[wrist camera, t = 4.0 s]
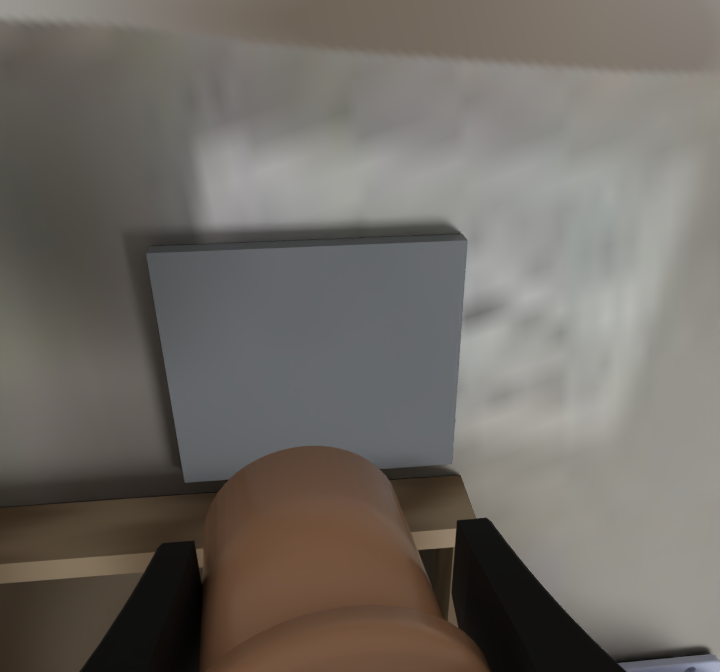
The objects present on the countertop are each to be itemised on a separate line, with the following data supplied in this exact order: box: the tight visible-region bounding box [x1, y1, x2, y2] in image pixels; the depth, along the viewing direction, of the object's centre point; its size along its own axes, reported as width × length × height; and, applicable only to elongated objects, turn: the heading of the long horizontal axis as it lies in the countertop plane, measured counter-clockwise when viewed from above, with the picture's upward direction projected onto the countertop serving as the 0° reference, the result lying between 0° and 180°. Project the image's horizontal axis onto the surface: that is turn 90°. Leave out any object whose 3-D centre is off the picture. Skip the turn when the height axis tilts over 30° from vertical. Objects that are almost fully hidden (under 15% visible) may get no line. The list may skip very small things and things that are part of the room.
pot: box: [199, 446, 492, 672], centre depth 12 cm, size 5×5×6 cm
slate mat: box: [146, 234, 467, 483], centre depth 20 cm, size 9×8×1 cm
